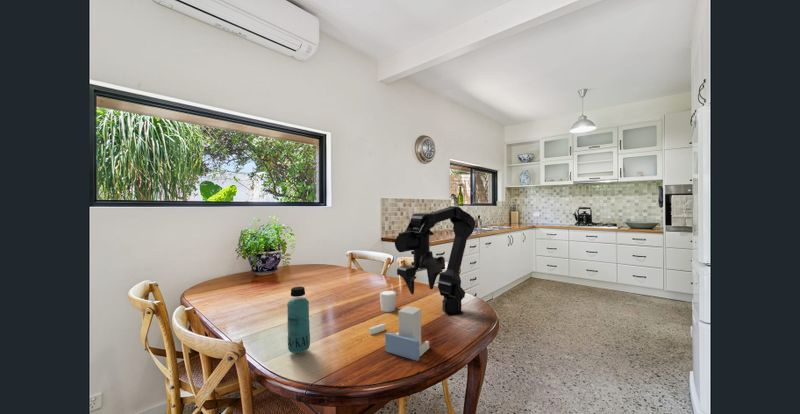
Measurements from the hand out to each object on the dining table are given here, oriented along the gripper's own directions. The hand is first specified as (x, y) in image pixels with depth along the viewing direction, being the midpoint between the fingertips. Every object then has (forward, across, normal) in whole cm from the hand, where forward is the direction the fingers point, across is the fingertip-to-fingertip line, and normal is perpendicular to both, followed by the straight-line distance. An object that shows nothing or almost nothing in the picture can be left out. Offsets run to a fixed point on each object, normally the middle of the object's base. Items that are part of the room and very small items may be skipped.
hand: (422, 291), depth 117 cm
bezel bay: (+12, -16, -11) cm, 23 cm away
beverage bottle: (+12, -42, +9) cm, 45 cm away
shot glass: (+12, 0, +20) cm, 24 cm away
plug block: (+12, -15, -11) cm, 22 cm away
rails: (+12, -16, +1) cm, 20 cm away
